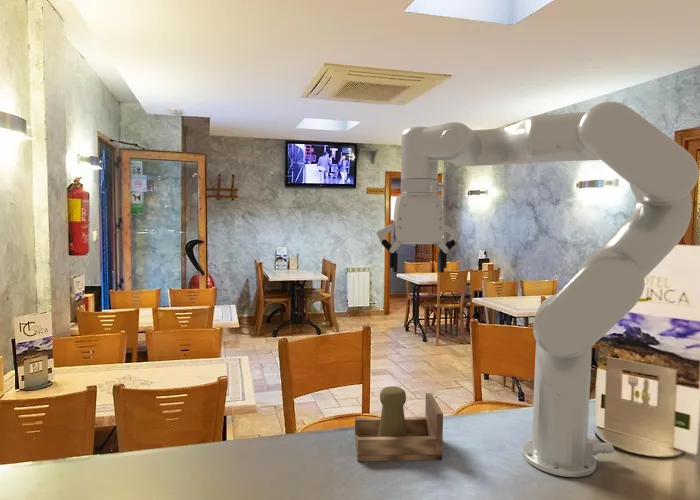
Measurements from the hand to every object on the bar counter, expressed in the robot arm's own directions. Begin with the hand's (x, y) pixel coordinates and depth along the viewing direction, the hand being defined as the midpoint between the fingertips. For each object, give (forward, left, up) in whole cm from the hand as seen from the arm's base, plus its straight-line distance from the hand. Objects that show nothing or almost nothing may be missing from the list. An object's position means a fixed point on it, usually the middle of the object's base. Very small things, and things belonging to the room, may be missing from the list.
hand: (417, 271), depth 100 cm
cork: (+6, +7, -34) cm, 35 cm away
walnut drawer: (+5, +7, -34) cm, 35 cm away
